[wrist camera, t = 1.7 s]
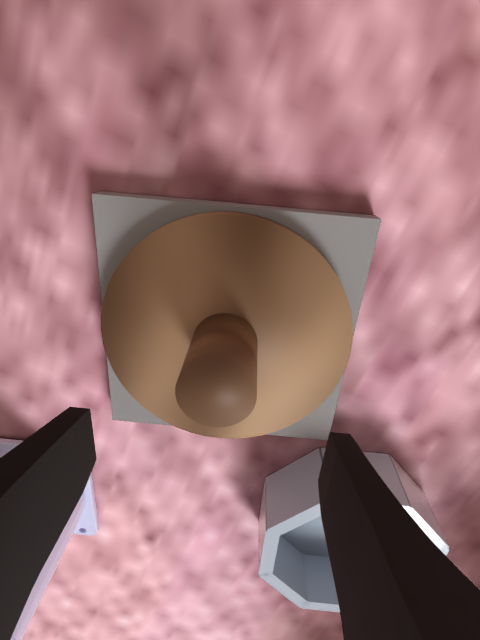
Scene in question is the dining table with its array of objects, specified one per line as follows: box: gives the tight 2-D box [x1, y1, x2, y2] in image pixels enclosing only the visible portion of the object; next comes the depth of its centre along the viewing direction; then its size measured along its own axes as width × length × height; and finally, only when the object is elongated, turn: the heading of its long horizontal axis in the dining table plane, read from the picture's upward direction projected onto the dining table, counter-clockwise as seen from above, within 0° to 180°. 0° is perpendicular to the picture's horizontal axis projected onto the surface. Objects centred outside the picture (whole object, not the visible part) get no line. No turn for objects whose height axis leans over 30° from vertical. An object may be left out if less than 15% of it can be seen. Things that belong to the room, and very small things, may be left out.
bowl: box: [258, 447, 450, 612], centre depth 22 cm, size 10×10×4 cm
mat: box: [92, 191, 381, 440], centre depth 18 cm, size 12×12×1 cm
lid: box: [101, 211, 353, 439], centre depth 16 cm, size 12×12×5 cm
